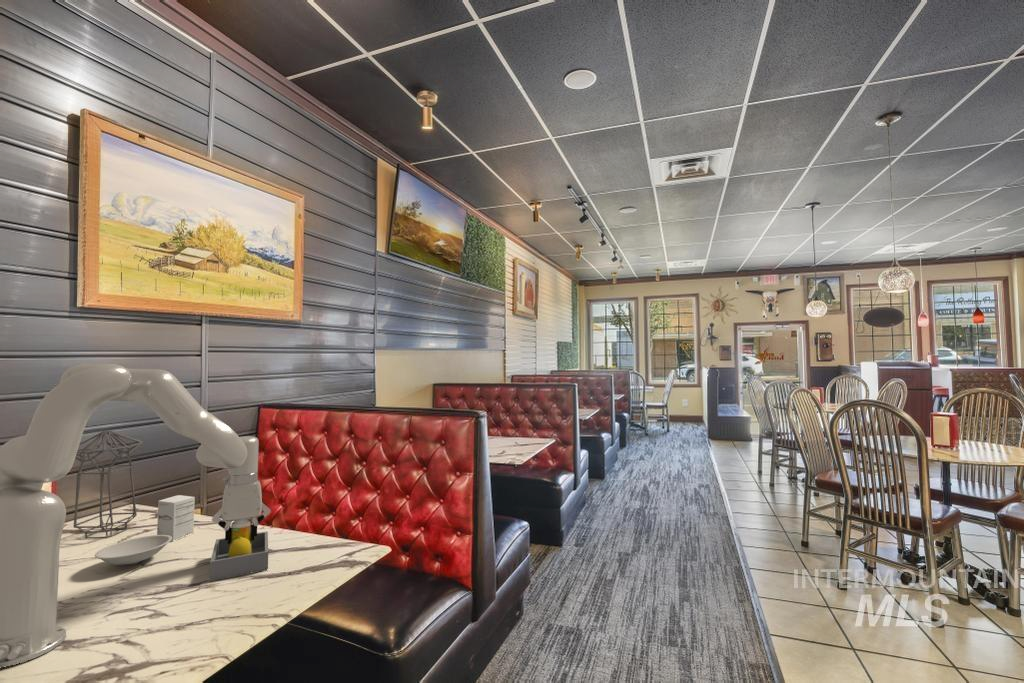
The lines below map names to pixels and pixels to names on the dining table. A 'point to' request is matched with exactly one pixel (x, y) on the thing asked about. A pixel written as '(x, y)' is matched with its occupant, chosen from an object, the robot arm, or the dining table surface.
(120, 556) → the dish
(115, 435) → the geometric lantern
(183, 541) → the dining table surface
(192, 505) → the supplement box
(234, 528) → the supplement bottle
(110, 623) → the dining table surface
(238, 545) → the lemon
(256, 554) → the tote
